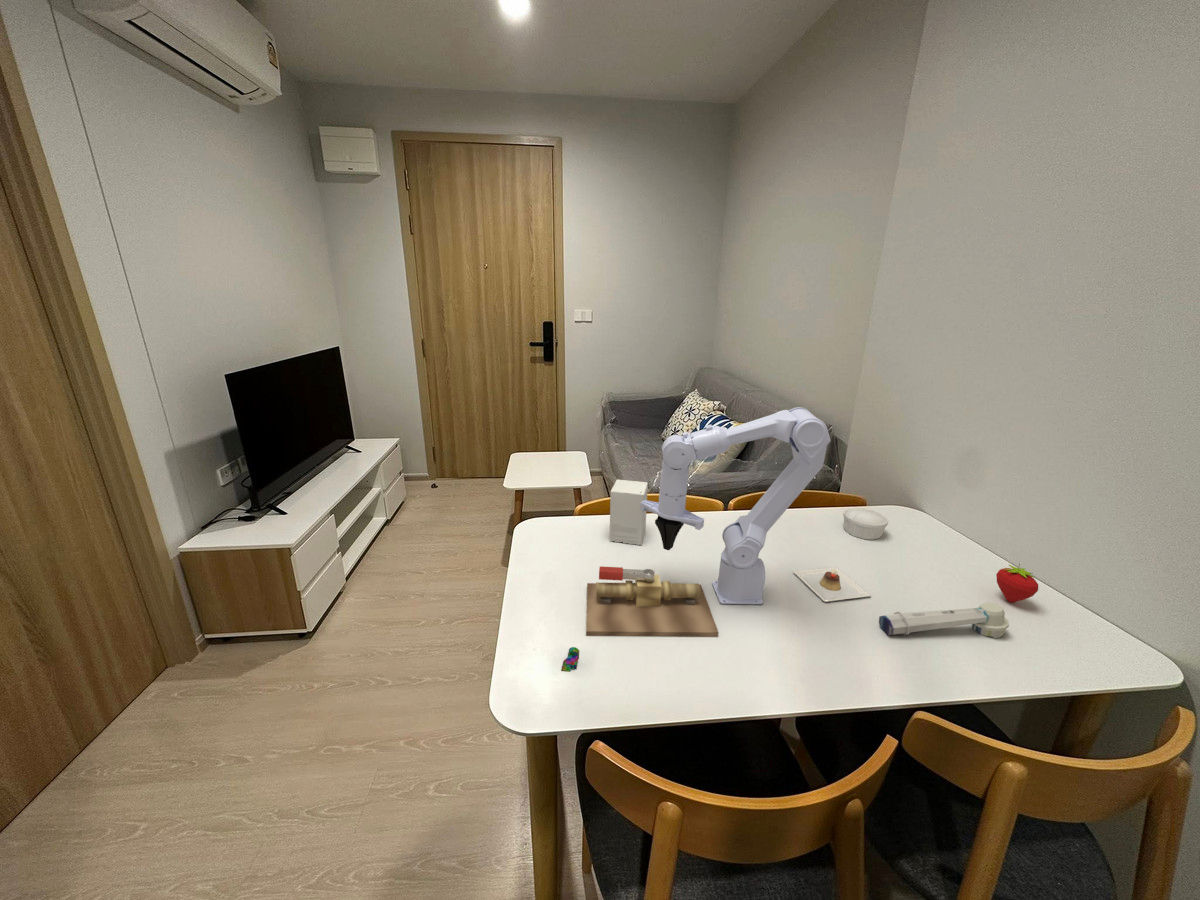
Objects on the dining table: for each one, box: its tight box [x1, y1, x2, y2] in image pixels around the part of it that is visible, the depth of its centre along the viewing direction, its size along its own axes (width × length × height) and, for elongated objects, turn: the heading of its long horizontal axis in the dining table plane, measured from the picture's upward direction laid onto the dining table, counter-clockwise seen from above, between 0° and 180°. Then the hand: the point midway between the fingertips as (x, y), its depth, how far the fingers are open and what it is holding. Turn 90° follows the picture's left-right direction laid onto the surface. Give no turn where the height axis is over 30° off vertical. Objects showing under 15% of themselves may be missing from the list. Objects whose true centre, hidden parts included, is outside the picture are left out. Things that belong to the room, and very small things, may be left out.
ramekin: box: [842, 507, 889, 541], centre depth 135 cm, size 11×11×5 cm
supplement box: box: [608, 479, 649, 546], centre depth 128 cm, size 9×9×15 cm
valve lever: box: [598, 566, 656, 582], centre depth 100 cm, size 12×2×2 cm, turn 87°
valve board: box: [585, 574, 720, 638], centre depth 99 cm, size 26×16×6 cm, turn 91°
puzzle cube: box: [560, 646, 580, 673], centre depth 85 cm, size 4×3×2 cm, turn 174°
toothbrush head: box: [878, 601, 1010, 639], centre depth 95 cm, size 5×7×25 cm
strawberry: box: [996, 563, 1039, 604], centre depth 104 cm, size 6×8×10 cm
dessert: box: [793, 566, 872, 603], centre depth 110 cm, size 12×12×5 cm
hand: (668, 547), depth 105 cm, fingers closed
